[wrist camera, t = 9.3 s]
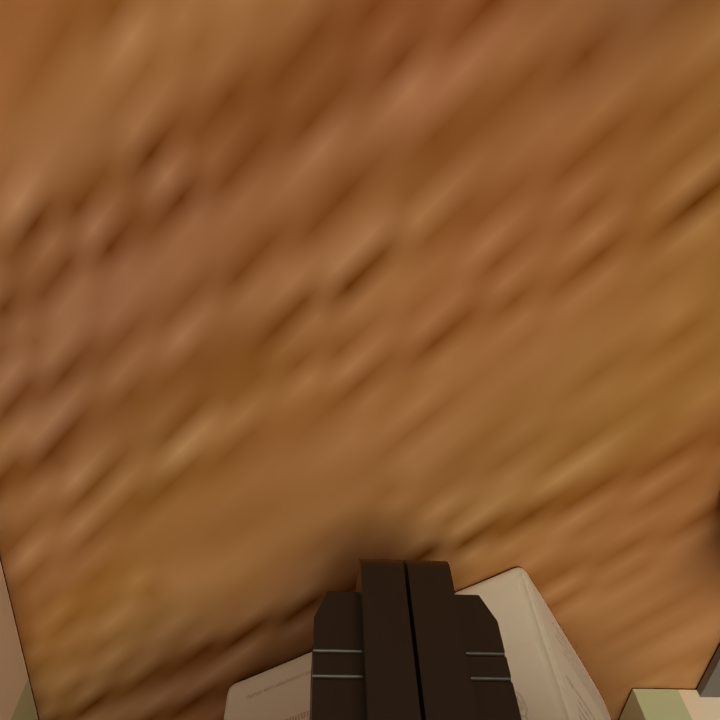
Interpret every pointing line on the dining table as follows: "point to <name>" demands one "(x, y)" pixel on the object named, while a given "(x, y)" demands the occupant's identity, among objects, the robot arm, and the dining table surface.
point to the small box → (522, 649)
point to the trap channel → (640, 716)
